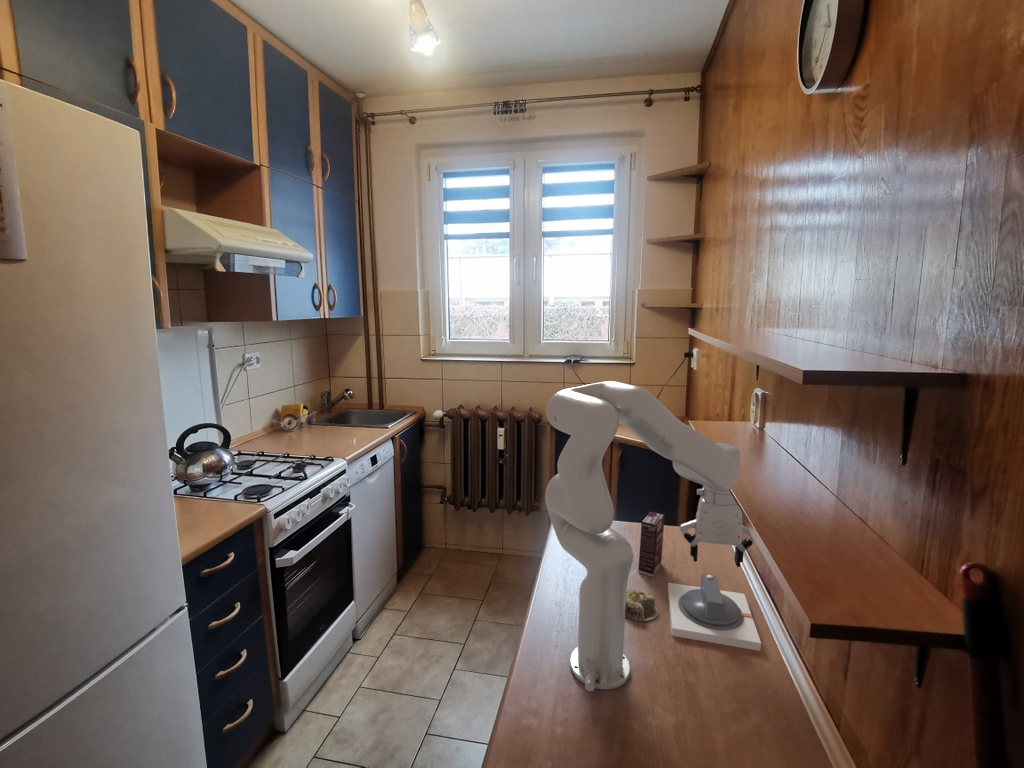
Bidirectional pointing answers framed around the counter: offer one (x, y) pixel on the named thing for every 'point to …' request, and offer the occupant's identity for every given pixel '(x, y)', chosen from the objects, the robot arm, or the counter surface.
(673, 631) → the dial plate
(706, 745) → the counter surface
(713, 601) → the dial
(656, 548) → the supplement box
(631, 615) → the cake
